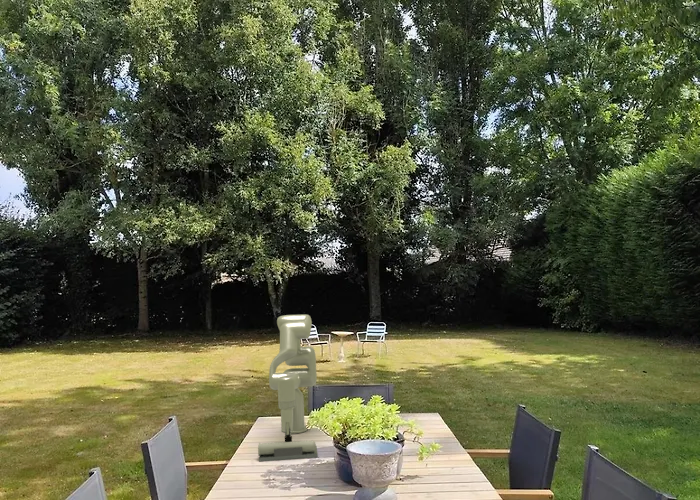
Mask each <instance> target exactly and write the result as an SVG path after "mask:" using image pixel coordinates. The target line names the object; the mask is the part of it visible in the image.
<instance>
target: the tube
mask: <svg viewBox="0 0 700 500" xmlns="http://www.w3.org/2000/svg"><path fill="white" fill-rule="evenodd" d="M257 445H258V446H257V452H258V453H257V455H258V456H260V455H272V454H274V449H279V448H293V447H302V453H307V452H314V451H315V449H316V446H317V444H316V441H313V440H299V441H298V440H297V441H295V440H294V441H292V442H285V441H279V442H262V443H261V442H258V444H257Z"/></svg>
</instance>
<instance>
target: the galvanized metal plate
mask: <svg viewBox="0 0 700 500" xmlns="http://www.w3.org/2000/svg"><path fill="white" fill-rule="evenodd" d="M258 456H259V455H258ZM318 457H319V455H318V447H317V445H316V449H315V451H314V452H307V453H302V447H293V448H279V449H274V454H272V455H260V456H259V457H258V459H259V460H258V461H259V462H273V461H285V460H287V461H289V460H298V459H299V460H301V459H313V458H318Z"/></svg>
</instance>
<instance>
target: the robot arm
mask: <svg viewBox="0 0 700 500" xmlns="http://www.w3.org/2000/svg"><path fill="white" fill-rule="evenodd" d="M312 323H313V321H312V318H311V315H309V314H286V315H285V314H284V315H280V316H278V317H277V320H276V324H277V327H278V330H279V352H278V354H276V355H275V357H274V358H273V360H272V361H271V362H270V365H269V373H268V374H269V375H268V385H269V389H271V390H273V391H277V397H278V399H277V400H278V403H277V404H278V409H279V410H280V425H281V433H284V442H293V440H292V439H293V437H292V436H293V435H292V434H301V433H305V432H308V430H307V429H306V425H305V424H306V422H305V401H304V400H305V399H304V394H303V392H302V390H300V388H306V387H314V386H316V385H317V377H318V376H317V357H316V351H315V348H313V347H312V346H301V340H305V339H309V338H310V335H311V331H312V325H313V324H312ZM284 362H285V364H286V365H287V366H289V367H294V368H287V369H285V370H284V371H283V372H277V373H276V371H277V368H278V367H279V366H280V365H282V363H284ZM296 366H297V367H296ZM299 366H300V367H299ZM301 366H302V368H301ZM303 366H306V367H303Z"/></svg>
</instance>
